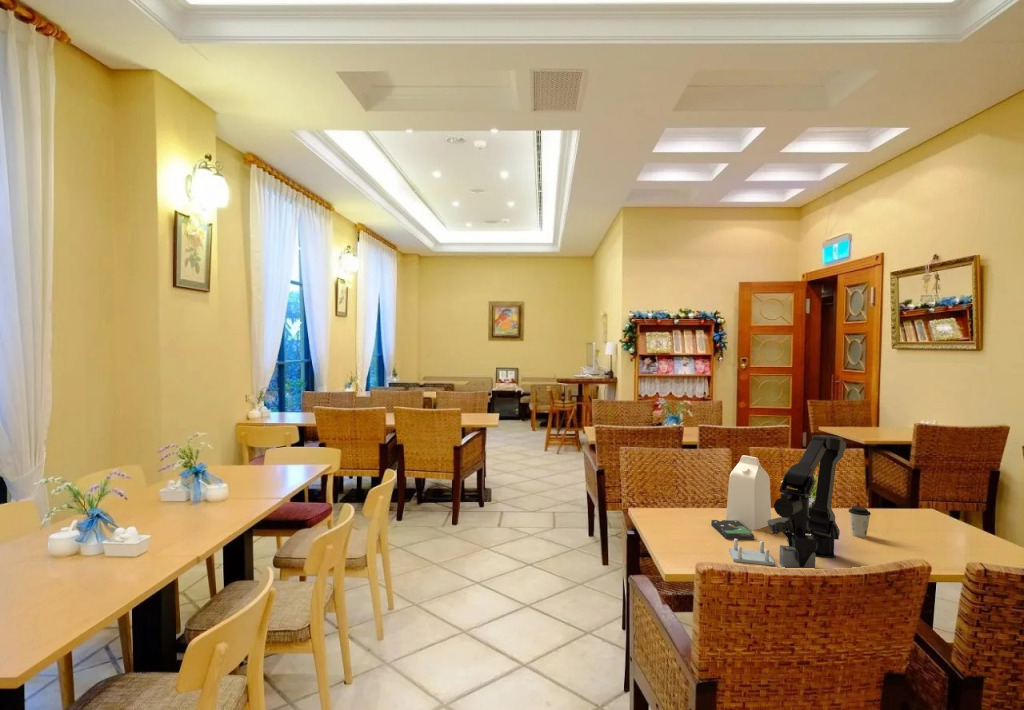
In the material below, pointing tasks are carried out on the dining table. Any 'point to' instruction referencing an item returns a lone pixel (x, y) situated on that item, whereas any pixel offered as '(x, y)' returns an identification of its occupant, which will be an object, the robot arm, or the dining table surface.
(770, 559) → the tray
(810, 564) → the block
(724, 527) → the disk drive
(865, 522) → the coffee cup
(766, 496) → the milk
